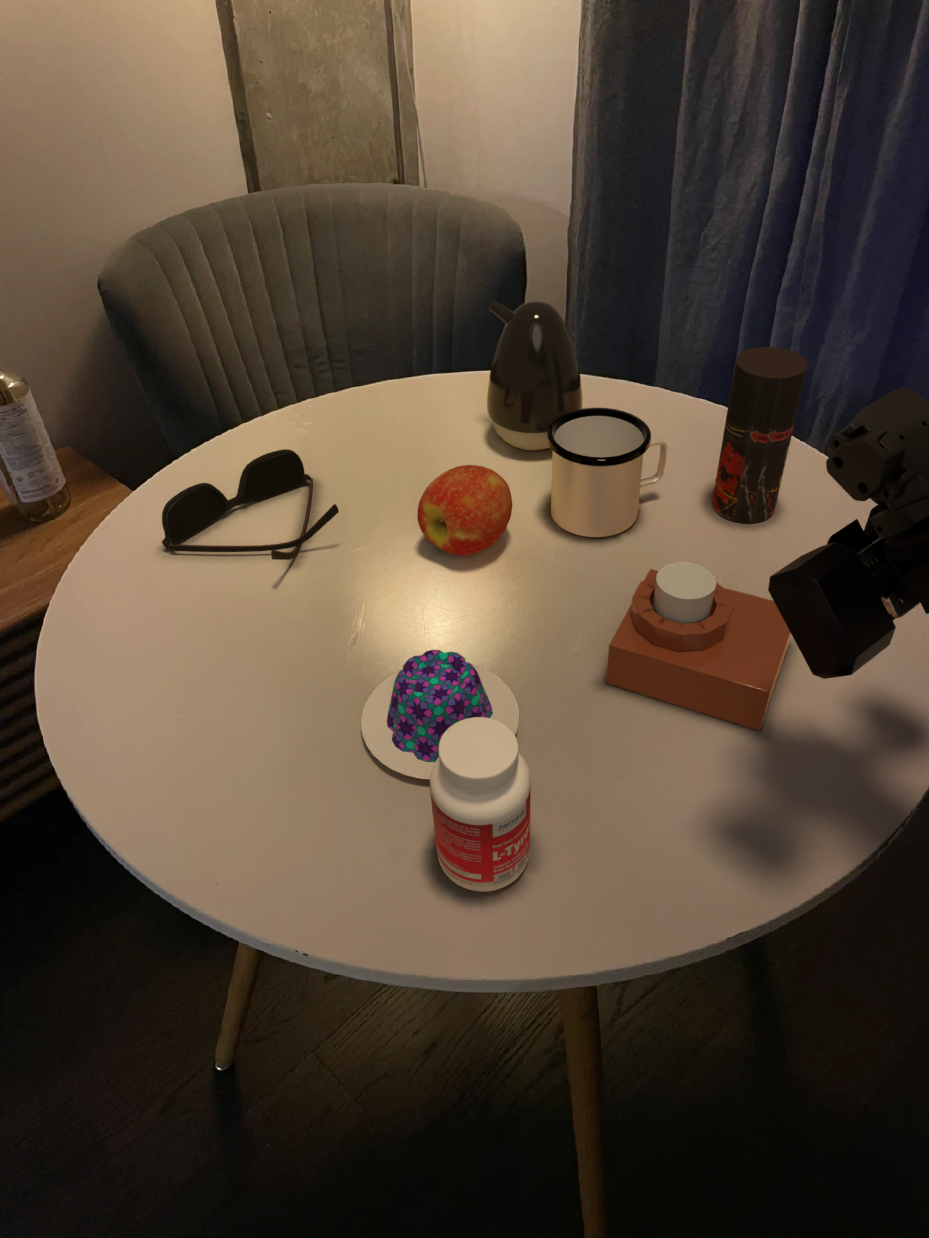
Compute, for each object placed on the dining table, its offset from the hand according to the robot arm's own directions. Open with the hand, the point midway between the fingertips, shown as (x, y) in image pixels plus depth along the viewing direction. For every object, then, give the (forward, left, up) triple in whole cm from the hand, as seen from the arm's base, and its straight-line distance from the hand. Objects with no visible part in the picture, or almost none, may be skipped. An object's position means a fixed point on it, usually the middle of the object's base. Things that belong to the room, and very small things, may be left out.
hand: (801, 584), depth 57 cm
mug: (+20, -21, -14) cm, 32 cm away
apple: (+30, -11, -14) cm, 35 cm away
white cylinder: (+8, -4, -8) cm, 12 cm away
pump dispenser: (+32, -31, -14) cm, 47 cm away
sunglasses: (+48, -4, -14) cm, 50 cm away
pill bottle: (+14, +19, -14) cm, 27 cm away
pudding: (+22, +10, -14) cm, 28 cm away
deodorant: (+8, -27, -14) cm, 31 cm away
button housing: (+6, -4, -14) cm, 15 cm away
